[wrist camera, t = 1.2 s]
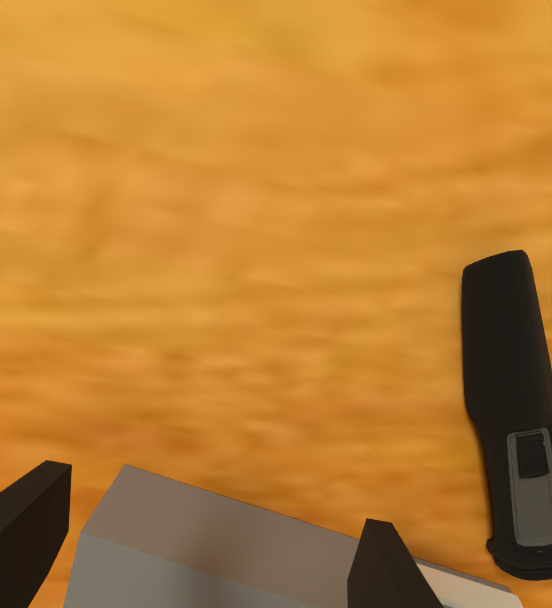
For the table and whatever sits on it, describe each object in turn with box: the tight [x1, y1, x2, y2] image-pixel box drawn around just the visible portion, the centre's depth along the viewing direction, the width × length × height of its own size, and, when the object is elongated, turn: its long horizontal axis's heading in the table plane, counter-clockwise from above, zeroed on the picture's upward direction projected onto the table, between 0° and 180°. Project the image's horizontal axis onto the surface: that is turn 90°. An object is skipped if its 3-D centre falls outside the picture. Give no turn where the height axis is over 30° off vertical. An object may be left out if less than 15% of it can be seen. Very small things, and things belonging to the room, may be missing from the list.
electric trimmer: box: [462, 250, 552, 581], centre depth 20 cm, size 4×16×3 cm, turn 14°
